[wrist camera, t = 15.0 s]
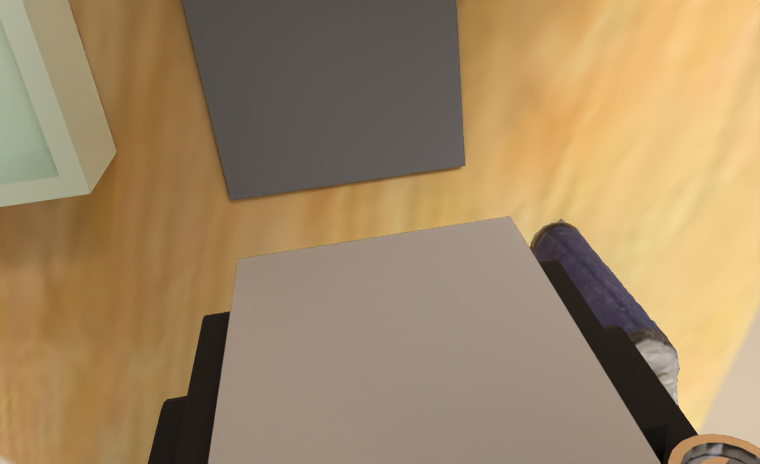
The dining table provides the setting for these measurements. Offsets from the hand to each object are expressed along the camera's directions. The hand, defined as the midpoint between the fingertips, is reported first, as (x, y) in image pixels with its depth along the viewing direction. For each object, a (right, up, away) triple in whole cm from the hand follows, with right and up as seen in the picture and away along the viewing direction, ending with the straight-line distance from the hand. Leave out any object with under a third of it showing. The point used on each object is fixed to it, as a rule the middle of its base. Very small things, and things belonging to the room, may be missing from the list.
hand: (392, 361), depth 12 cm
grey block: (0, 0, 0) cm, 0 cm away
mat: (-2, +11, +13) cm, 17 cm away
